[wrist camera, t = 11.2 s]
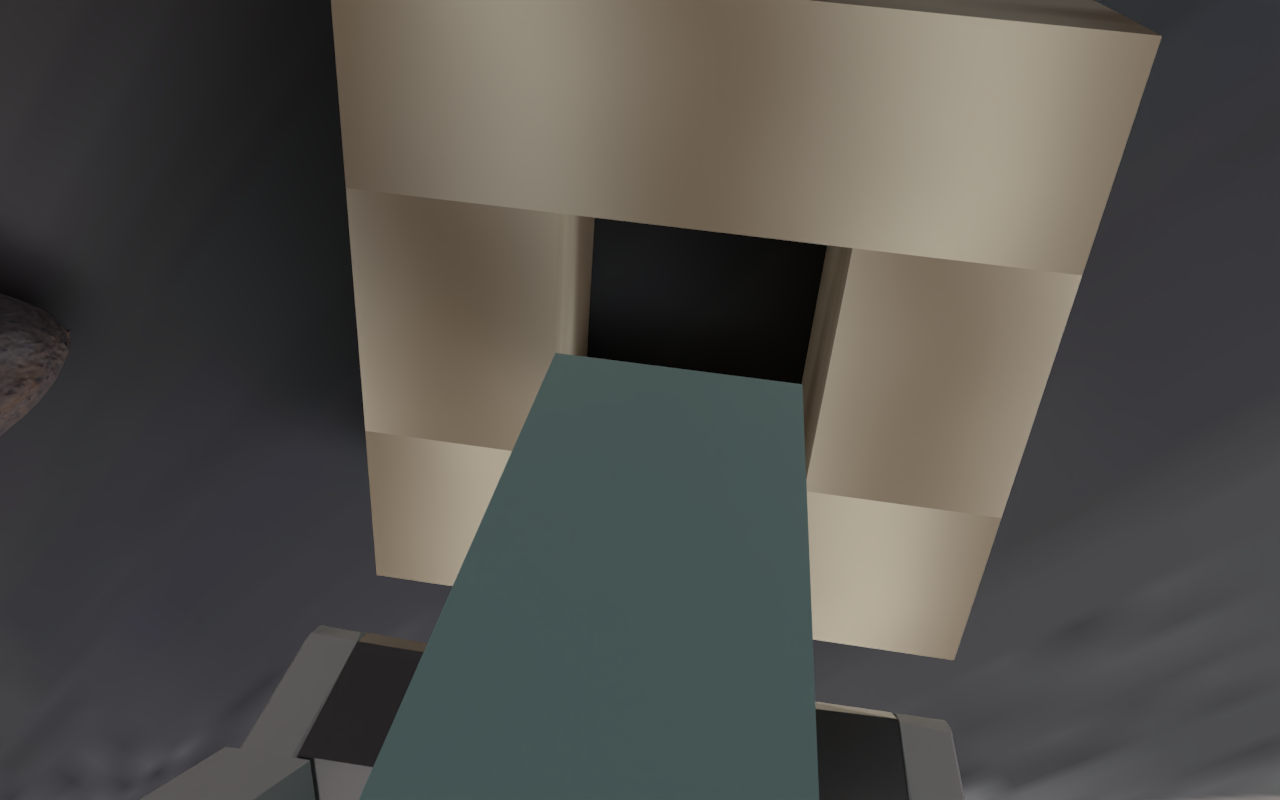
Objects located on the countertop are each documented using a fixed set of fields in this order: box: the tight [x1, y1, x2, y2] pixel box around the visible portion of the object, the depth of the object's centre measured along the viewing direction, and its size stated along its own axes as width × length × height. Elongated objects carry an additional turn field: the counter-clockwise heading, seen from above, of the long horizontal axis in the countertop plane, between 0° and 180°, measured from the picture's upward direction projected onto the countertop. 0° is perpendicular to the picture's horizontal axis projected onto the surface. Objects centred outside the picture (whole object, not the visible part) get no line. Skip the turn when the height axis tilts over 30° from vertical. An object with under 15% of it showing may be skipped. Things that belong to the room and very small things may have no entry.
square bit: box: [359, 353, 819, 800], centre depth 10 cm, size 3×3×10 cm
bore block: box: [331, 0, 1162, 660], centre depth 19 cm, size 12×12×4 cm
